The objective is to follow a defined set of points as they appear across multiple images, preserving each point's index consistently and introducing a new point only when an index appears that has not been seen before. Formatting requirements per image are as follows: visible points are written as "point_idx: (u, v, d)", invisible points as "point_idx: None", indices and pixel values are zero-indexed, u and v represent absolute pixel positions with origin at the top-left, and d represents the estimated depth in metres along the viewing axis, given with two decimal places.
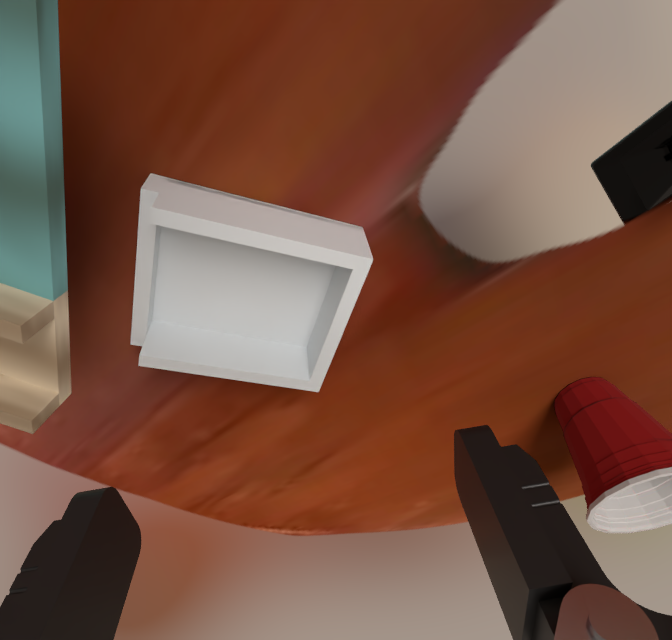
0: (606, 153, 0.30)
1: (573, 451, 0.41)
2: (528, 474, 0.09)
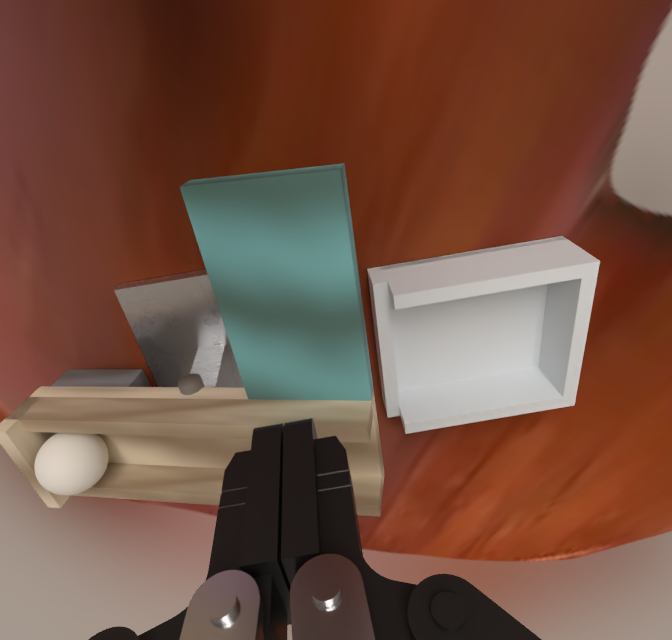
0: None
1: None
2: (334, 462, 0.10)
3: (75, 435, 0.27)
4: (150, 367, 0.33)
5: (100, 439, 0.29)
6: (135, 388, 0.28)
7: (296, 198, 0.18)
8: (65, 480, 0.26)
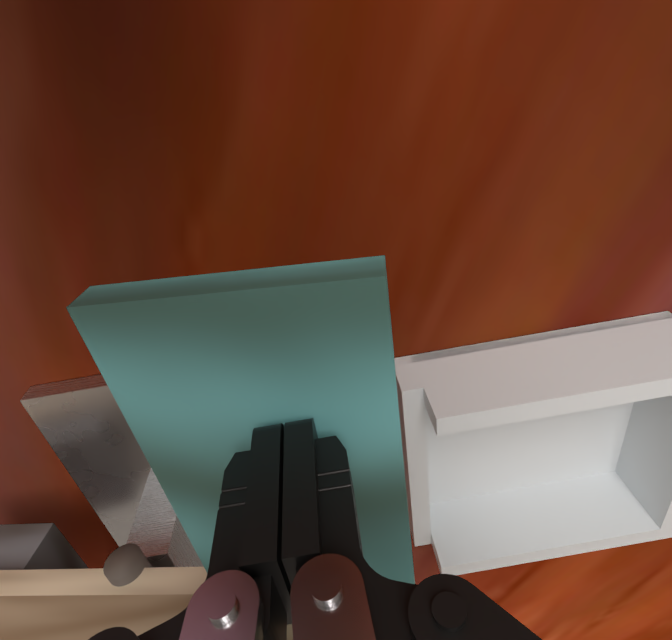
0: None
1: None
2: (334, 461, 0.10)
3: None
4: (84, 492, 0.24)
5: None
6: (37, 572, 0.18)
7: (298, 324, 0.10)
8: None
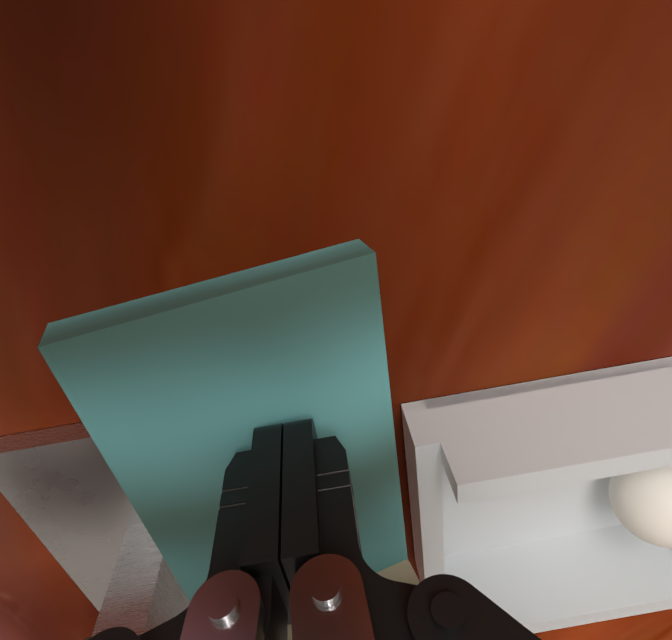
0: None
1: None
2: (333, 462, 0.10)
3: None
4: (53, 553, 0.21)
5: None
6: None
7: (299, 314, 0.10)
8: (611, 484, 0.21)
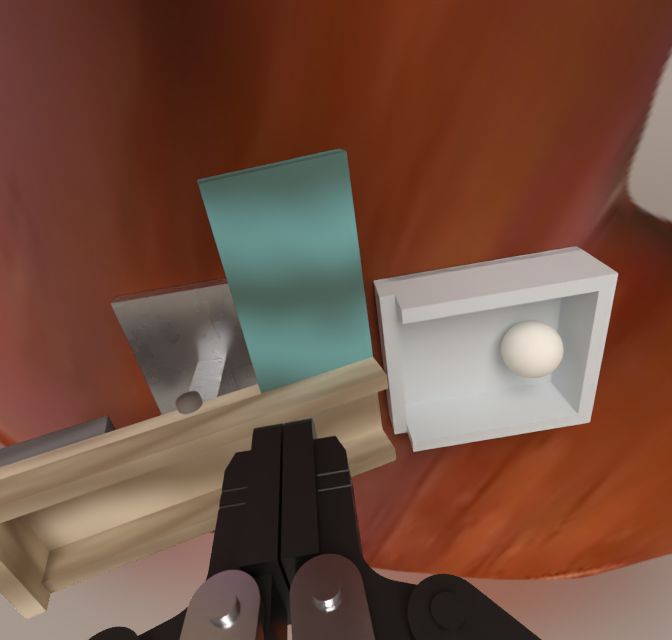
0: None
1: None
2: (333, 462, 0.10)
3: (526, 334, 0.30)
4: (148, 382, 0.32)
5: (524, 357, 0.30)
6: (121, 429, 0.25)
7: (310, 180, 0.21)
8: None
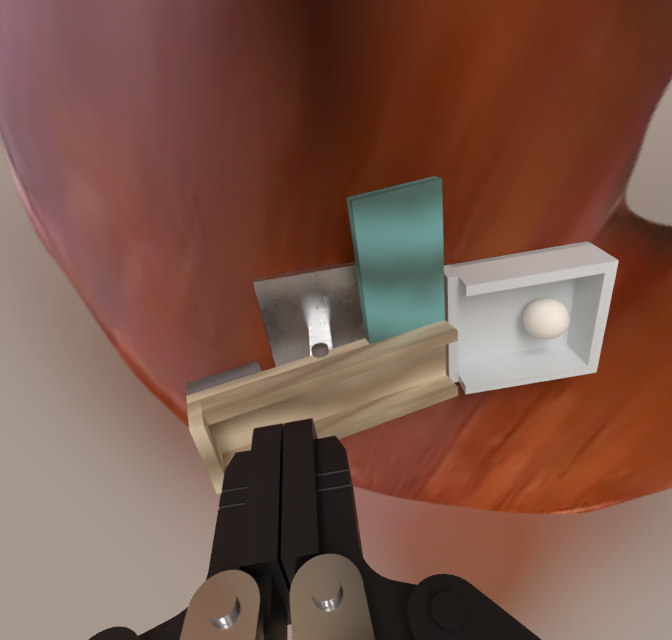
0: None
1: None
2: (333, 462, 0.10)
3: (539, 305, 0.41)
4: (270, 342, 0.43)
5: (532, 321, 0.41)
6: (276, 367, 0.36)
7: (417, 198, 0.32)
8: None
